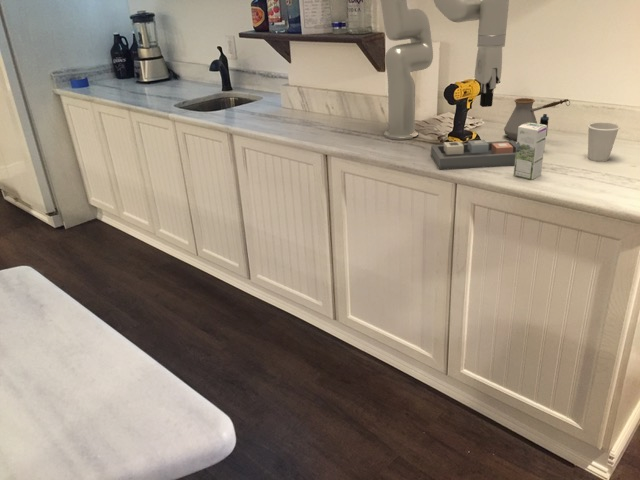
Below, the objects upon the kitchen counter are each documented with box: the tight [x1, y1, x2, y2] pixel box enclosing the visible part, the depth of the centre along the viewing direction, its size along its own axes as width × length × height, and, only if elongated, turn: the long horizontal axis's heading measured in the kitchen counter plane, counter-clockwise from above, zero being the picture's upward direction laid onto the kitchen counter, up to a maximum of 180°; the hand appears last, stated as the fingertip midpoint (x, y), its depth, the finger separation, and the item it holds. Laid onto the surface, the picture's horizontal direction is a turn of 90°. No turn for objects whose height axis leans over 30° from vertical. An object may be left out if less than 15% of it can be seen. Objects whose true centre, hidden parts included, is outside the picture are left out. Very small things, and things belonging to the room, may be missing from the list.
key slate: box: [467, 139, 489, 153], centre depth 166 cm, size 5×5×2 cm
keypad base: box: [430, 140, 517, 171], centre depth 167 cm, size 14×26×4 cm, turn 90°
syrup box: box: [513, 123, 548, 181], centre depth 150 cm, size 6×6×14 cm
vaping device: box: [539, 113, 549, 148], centre depth 169 cm, size 3×5×12 cm, turn 53°
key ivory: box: [443, 141, 464, 155], centre depth 166 cm, size 5×5×2 cm
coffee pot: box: [503, 97, 571, 141], centre depth 179 cm, size 21×12×15 cm, turn 38°
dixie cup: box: [587, 121, 621, 162], centre depth 160 cm, size 8×8×10 cm
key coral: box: [491, 143, 513, 154], centre depth 166 cm, size 5×5×2 cm
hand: (485, 105), depth 160 cm, fingers closed
